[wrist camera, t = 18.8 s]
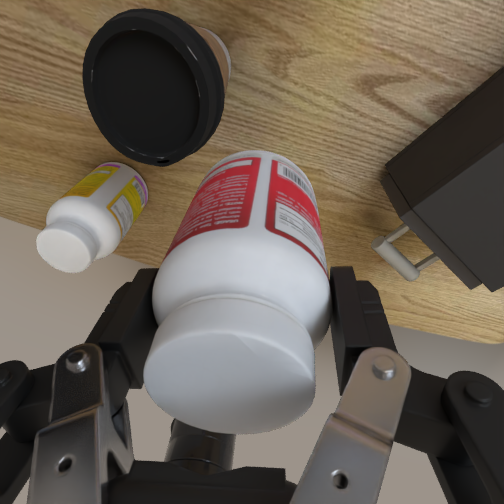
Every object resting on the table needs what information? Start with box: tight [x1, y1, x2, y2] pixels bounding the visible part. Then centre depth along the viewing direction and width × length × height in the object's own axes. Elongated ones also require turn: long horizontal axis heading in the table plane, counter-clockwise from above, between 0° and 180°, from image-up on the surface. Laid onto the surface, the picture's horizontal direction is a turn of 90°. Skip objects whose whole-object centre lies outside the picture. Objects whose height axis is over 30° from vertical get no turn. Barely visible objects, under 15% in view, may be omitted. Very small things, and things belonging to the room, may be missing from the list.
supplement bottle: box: [36, 162, 148, 273], centre depth 34 cm, size 7×7×13 cm
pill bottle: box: [143, 150, 332, 434], centre depth 14 cm, size 6×6×11 cm
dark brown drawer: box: [371, 174, 482, 290], centre depth 32 cm, size 19×11×8 cm, turn 139°
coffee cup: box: [83, 8, 231, 167], centre depth 25 cm, size 8×8×15 cm
